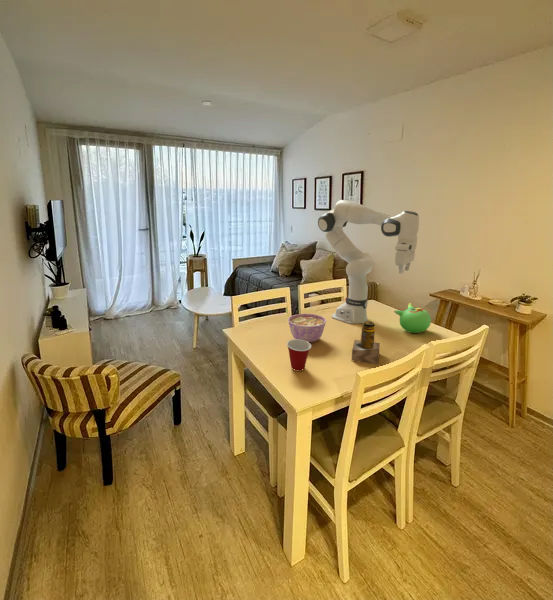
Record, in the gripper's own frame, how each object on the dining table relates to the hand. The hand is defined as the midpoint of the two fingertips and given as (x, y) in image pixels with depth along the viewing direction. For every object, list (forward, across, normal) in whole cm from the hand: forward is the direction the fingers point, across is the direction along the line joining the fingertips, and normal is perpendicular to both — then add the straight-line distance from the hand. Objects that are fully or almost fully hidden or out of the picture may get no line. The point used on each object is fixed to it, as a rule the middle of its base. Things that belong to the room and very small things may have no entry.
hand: (403, 271), depth 171 cm
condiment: (+32, +32, -5) cm, 45 cm away
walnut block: (+38, +31, -5) cm, 49 cm away
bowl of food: (+37, +31, -38) cm, 62 cm away
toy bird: (+37, -17, +4) cm, 41 cm away
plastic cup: (+37, +60, -24) cm, 75 cm away
